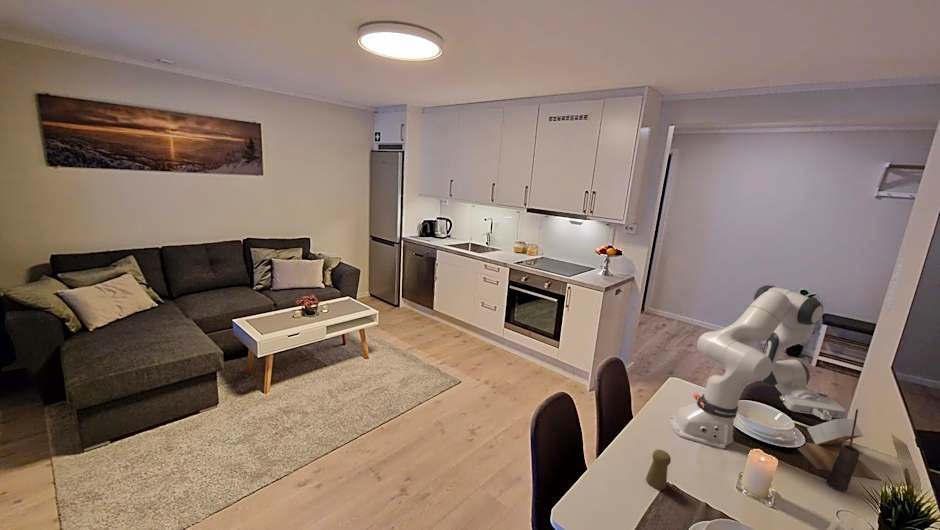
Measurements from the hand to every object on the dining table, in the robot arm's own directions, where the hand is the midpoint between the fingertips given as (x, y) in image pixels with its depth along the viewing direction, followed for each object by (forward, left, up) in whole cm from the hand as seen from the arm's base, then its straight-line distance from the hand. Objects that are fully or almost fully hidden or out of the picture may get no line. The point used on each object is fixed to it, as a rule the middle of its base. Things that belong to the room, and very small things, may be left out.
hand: (827, 418), depth 154 cm
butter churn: (-10, -27, -11) cm, 31 cm away
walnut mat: (-2, -11, -10) cm, 15 cm away
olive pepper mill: (-72, -41, -11) cm, 84 cm away
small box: (0, +1, -9) cm, 9 cm away
